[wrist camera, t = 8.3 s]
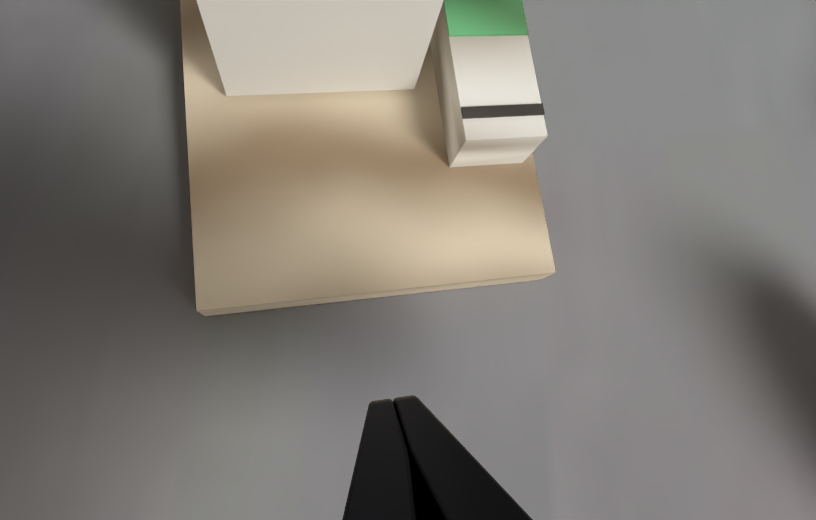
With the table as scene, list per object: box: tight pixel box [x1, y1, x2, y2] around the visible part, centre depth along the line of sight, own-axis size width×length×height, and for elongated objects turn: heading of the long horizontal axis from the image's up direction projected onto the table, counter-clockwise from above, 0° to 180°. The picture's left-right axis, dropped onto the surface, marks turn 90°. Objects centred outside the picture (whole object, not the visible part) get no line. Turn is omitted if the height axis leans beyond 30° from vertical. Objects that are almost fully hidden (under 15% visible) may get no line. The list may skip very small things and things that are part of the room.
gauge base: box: [180, 0, 555, 316], centre depth 21 cm, size 22×13×4 cm, turn 8°
